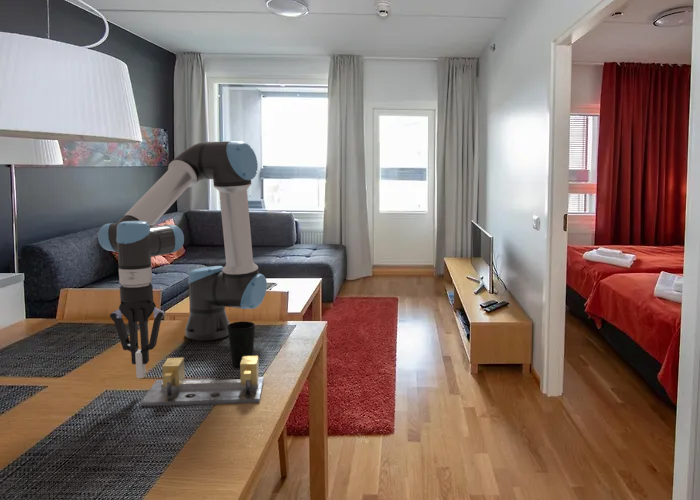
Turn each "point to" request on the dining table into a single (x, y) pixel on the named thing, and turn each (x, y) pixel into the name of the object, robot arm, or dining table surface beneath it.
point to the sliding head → (173, 373)
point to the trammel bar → (247, 375)
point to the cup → (241, 341)
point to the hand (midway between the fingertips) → (141, 375)
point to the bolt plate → (202, 395)
